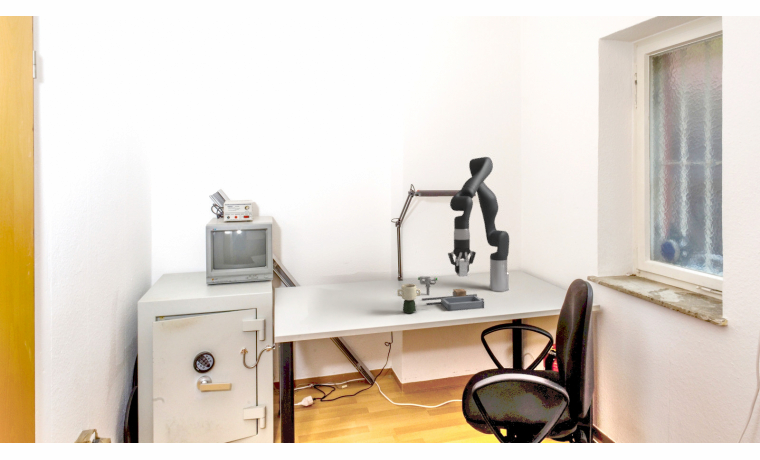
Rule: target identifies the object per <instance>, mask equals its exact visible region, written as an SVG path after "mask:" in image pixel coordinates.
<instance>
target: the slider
mask: <svg viewBox="0 0 760 460" xmlns="http://www.w3.org/2000/svg"><path fill="white" fill-rule="evenodd" d="M466 295H467V290H465V288H464V289H463V288H456V289H453V291H452V296H453V297H461V296H466Z"/></svg>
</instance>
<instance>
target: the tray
mask: <svg viewBox="0 0 760 460" xmlns="http://www.w3.org/2000/svg"><path fill="white" fill-rule="evenodd" d="M481 299H482V298H480V297H478V295H477V296H475V295H474V296H461V297H449V298H441V299H440V302H441V304H440V305H441V306H442V307H443V308H444V309H445V310H446V311H447V312H455V311H468V310H479V309H485V301H483V300H481Z"/></svg>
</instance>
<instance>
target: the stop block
mask: <svg viewBox="0 0 760 460" xmlns="http://www.w3.org/2000/svg"><path fill="white" fill-rule="evenodd" d="M458 266H459V273H458V274H457V273H456V276H458V277H469V276H468V273H469V272H468V273H467V261H464V259H460V262H459V265H458Z"/></svg>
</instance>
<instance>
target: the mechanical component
mask: <svg viewBox="0 0 760 460" xmlns="http://www.w3.org/2000/svg"><path fill="white" fill-rule="evenodd" d="M417 280H418V281H419V284H420V285H425V288H426V295H427V296H430V288H431V285H432V286H433V285H435V284H436V283H437V281H438V277H436V276H435V277H434V278H433V279H432V277H431V276H428V275H427V276H423V275H422V276H418V278H417Z"/></svg>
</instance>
